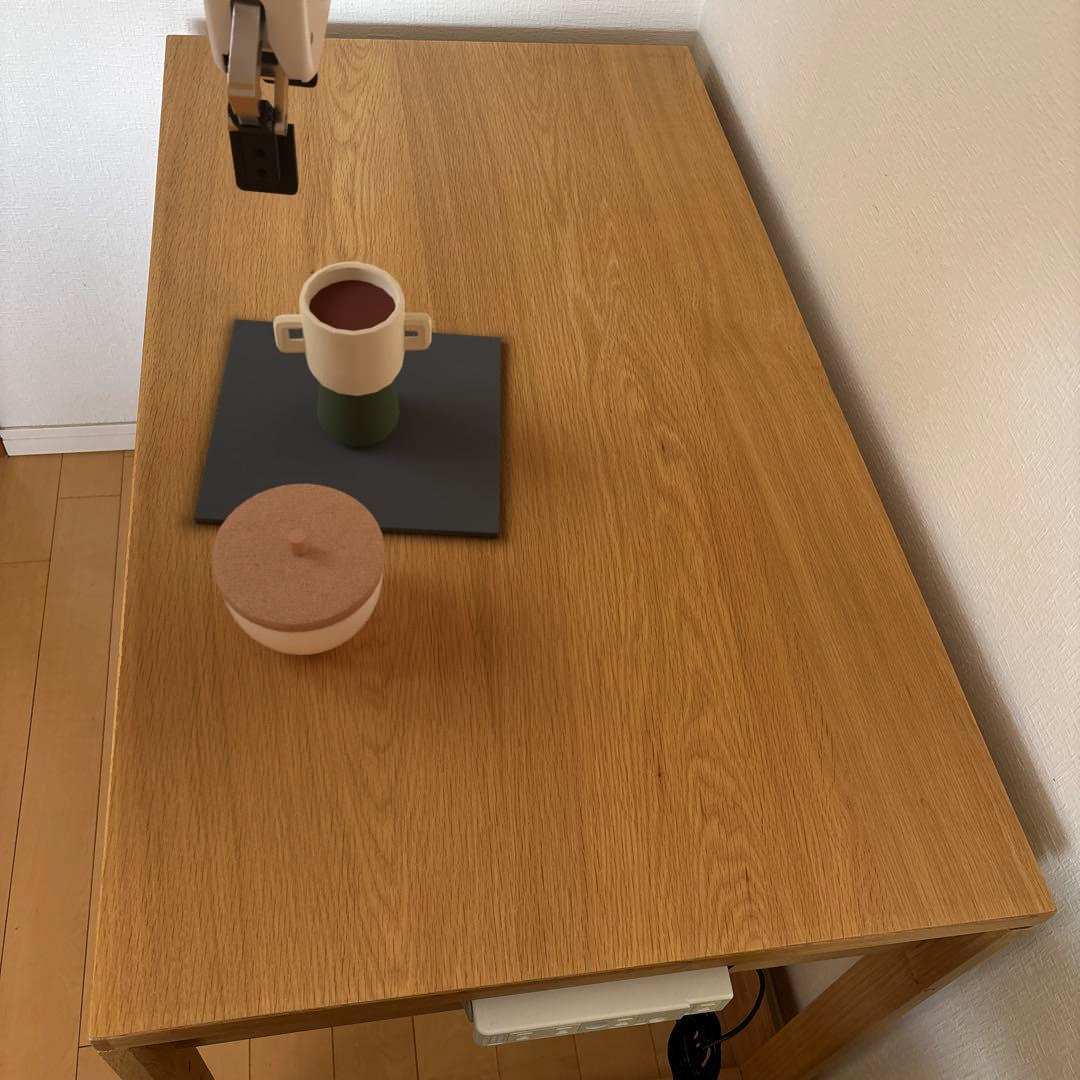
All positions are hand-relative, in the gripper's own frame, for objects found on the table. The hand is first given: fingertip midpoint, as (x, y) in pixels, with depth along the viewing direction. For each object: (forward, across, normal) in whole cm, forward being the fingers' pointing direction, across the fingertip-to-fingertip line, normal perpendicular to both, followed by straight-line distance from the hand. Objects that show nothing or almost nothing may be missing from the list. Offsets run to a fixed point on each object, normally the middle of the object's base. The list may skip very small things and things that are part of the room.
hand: (279, 133), depth 58 cm
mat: (+27, +1, -4) cm, 27 cm away
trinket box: (+27, -15, -2) cm, 31 cm away
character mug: (+26, +1, -4) cm, 27 cm away
